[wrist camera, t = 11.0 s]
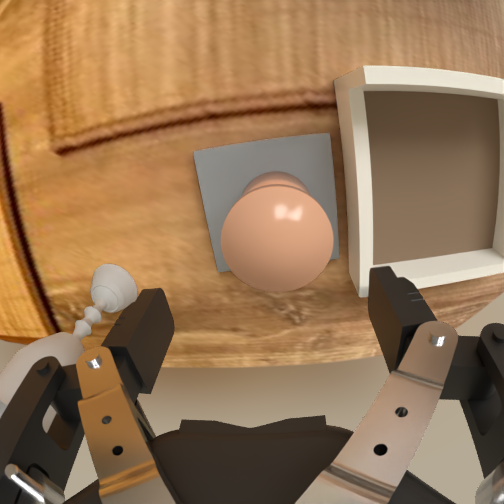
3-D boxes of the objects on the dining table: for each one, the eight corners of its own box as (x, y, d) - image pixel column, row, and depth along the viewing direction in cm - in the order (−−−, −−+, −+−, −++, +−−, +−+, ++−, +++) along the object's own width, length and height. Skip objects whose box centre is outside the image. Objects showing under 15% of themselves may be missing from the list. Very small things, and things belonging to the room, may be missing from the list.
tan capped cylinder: (228, 172, 23) (210, 197, 16) (312, 161, 22) (329, 181, 16) (242, 248, 25) (231, 297, 19) (320, 239, 25) (335, 286, 18)
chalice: (109, 239, 27) (-20, 377, 10) (161, 291, 29) (77, 457, 12) (74, 282, 29) (-30, 405, 13) (119, 326, 31) (43, 466, 15)
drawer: (333, 80, 20) (363, 65, 13) (497, 89, 18) (557, 93, 11) (348, 272, 27) (372, 330, 20) (492, 251, 25) (537, 292, 18)
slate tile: (196, 150, 23) (193, 151, 22) (327, 132, 22) (329, 133, 21) (219, 266, 27) (218, 272, 26) (337, 253, 26) (339, 258, 25)
